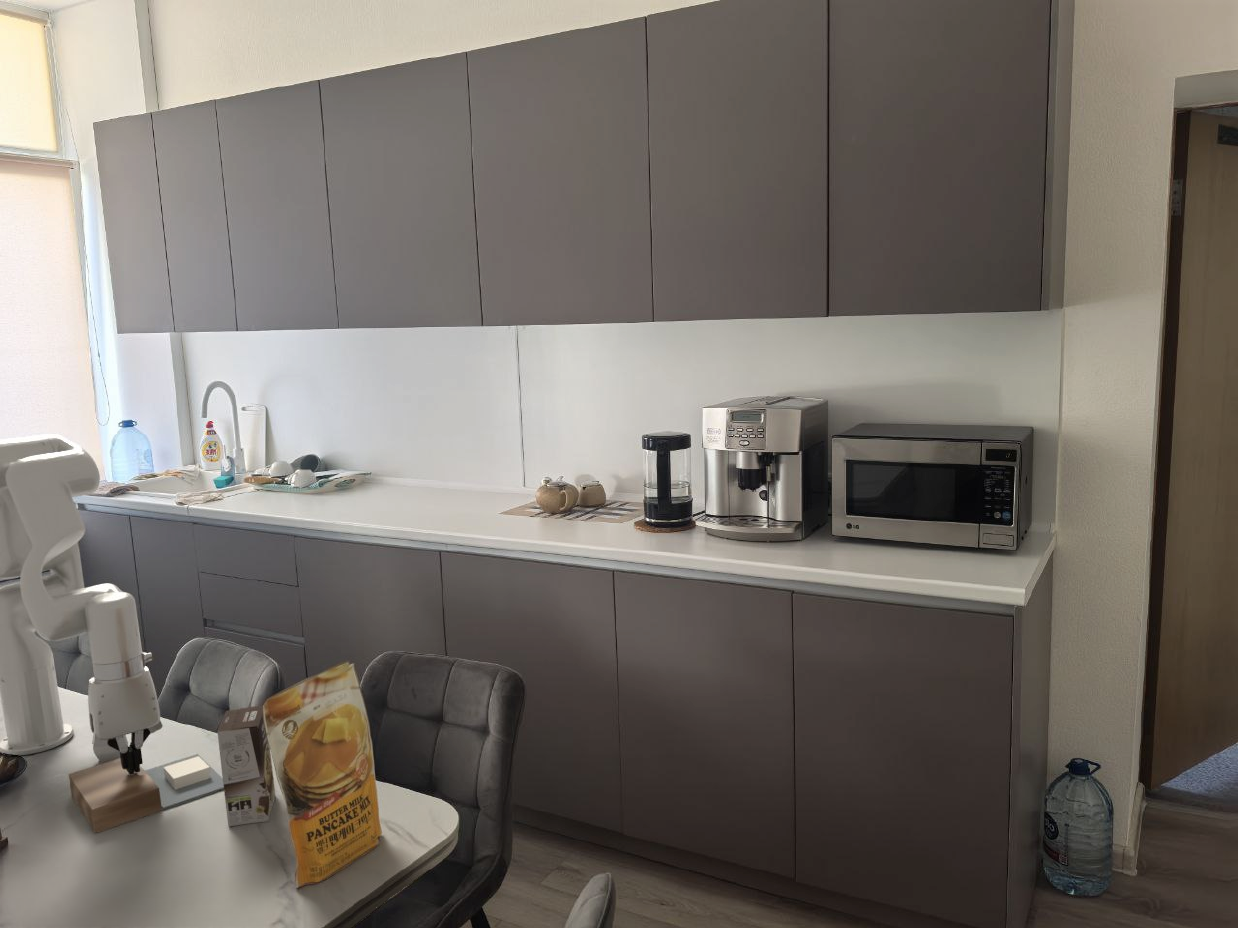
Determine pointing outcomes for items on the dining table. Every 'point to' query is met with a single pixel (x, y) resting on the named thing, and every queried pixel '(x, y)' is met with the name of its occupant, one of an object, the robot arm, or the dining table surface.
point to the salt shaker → (107, 753)
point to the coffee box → (246, 766)
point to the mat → (186, 793)
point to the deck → (113, 794)
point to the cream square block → (187, 772)
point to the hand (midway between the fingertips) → (132, 770)
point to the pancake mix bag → (325, 770)
